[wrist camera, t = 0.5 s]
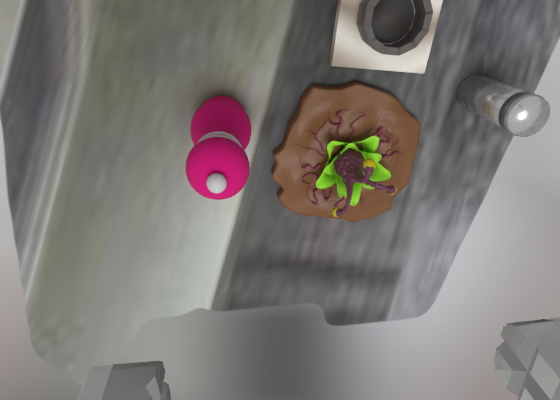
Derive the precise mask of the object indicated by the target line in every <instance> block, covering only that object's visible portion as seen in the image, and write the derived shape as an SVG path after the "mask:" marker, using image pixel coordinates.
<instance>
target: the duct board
mask: <svg viewBox="0 0 560 400" xmlns="http://www.w3.org/2000/svg"><path fill="white" fill-rule="evenodd" d="M442 2H443V0H338V4H337V11H336V18H335V25H334V32H333V39H332V46H331V53H330V60H329V64H330V65H331V66H338V67H350V68H362V69H374V70H387V71H399V72H411V73H423V74H424V73H425V69H426V65H427V61H428V57H429V53H430V49H431V45H432V41H433V37H434V33H435V29H436V25H437V21H438V18H439V14H440V10H441V6H442Z"/></svg>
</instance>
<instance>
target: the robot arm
mask: <svg viewBox="0 0 560 400" xmlns="http://www.w3.org/2000/svg"><path fill="white" fill-rule="evenodd" d="M501 336H502V338H503V339H504V342H503V343H502V344H501V345H500V346H499V347H497V349H496V353H495V357H494V361H495V367H496V371H497V373H498V376H499V378H500V380H501V381H502V383H503V385H504V386H505V388H506V389H507V390H509V391H511V392H512V393H514V394H515V395H517V396H518V400H560V318H553V319H541V320H533V321H525V322H516V323H508V324H507V325H506V326H504V327H503V330H502V333H501ZM164 375H165V369H164V365H163V362H162V361H151V362H139V363H127V364H115V365H104V366H93V367H92V368H91V369H90V370H89V372H88V373H87V375H86V377H85V380H84V383H83V385H82V388H81V391H80V393H79V396H78V398H77V400H171V395H170V388H169V385H168V384H167V383H166V382H164Z"/></svg>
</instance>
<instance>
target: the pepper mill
mask: <svg viewBox="0 0 560 400" xmlns="http://www.w3.org/2000/svg"><path fill="white" fill-rule="evenodd" d="M250 136H251V124H250V120H249V118H248V116H247V114H246V113H245V111H244V109H243V108H242V106H241V105H240V104H239V103H238V102H237V101H236V100H234V99H232V98H230V97H227V96H216V97H212V98H210V99H208V100H207V101H205V102H204V103H203V105H202V106H201V107H200V108H199V109H198V110H197V111H196V113H195V114H194V116H193V118H192V122H191V137H192V141H193V143H194V145H195V146H194V147H193V148H192V150H191V151H190V153H189V155H188V157H187V161H186V174H187V178H188V181H189V183H190V184H191V186H192V187H193V188H194V189H195V191H196V192H198V193H199V194H200V195H202V196H204V197H207V198H210V199H219V200H221V199H226V198H229V197H232V196H234V195H235V194H237V193H238V192H239V191H240V190H241V189H242V188H243V187H244V185H245V184H246V181H247V179H248V176H249V161H248V157H247V155H246V153H245V151H244V150H245V149H246V147H247V145H248V143H249V141H250Z"/></svg>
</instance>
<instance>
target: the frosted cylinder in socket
mask: <svg viewBox="0 0 560 400" xmlns="http://www.w3.org/2000/svg"><path fill="white" fill-rule="evenodd" d="M456 99H457V102H458V103H459V104H460V105H461V106H462V107H464V108H466V109H468V110H470V111H472V112H474V113H476V114H478V115H479V116H481V117H483V118H485V119H487V120H489V121H491V122H493V123H494V124H496V125H498V126H500V127H502V128H503V129H504V130H506V131H508V132H509V133H511V134H513V135H515V136H520V137H527V136H530V135H533V134H535V133H536V132H538V131H539V130H540V129H541V128H542V127H543V126H544V125H545V124H546V122H547V120H548V118H549V114H550V106H549V104H548V102H547V101H546V100H545V99H544V98H543V97H541V96H539V95H536V94H533V93H530V92H526V91H522V90H519V89H517V88H514V87H511V86H508V85H506V84H503V83H500V82H498V81H495V80H492V79H489V78H487V77H484V76H481V75H471V76H468V77H466V78H465V79H464V80H463V81H462V82H461V83H460V84H459V86H458V88H457V91H456Z"/></svg>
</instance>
